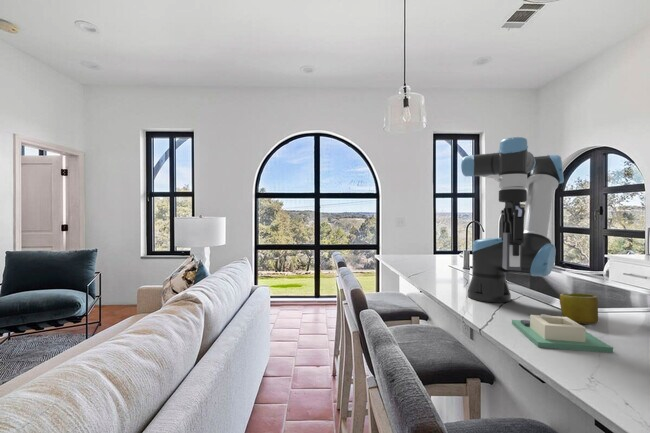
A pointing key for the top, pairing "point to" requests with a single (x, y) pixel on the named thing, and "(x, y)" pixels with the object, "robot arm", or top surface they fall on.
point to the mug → (579, 307)
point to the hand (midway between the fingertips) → (511, 265)
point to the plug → (506, 253)
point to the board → (564, 344)
